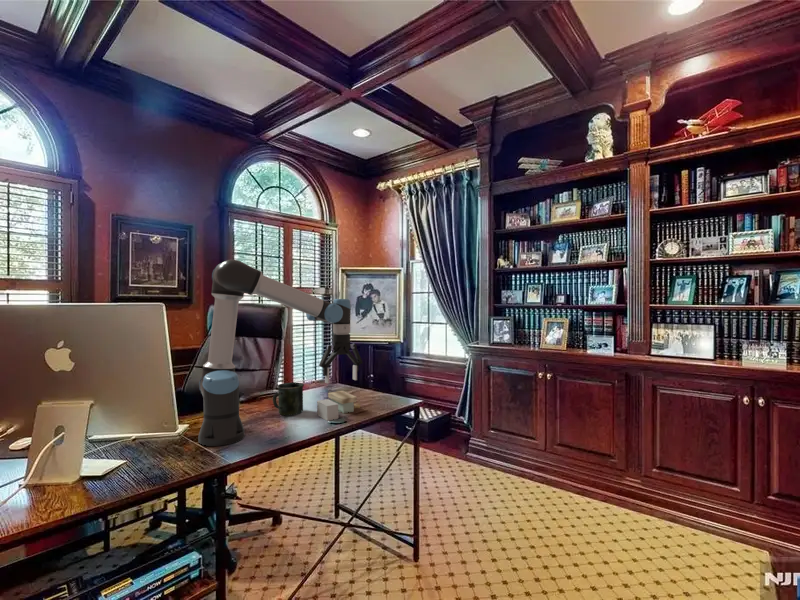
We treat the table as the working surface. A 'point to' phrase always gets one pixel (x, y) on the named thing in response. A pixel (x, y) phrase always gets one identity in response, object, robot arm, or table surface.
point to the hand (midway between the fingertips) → (341, 381)
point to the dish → (345, 407)
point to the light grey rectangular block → (327, 409)
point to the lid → (342, 397)
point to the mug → (289, 398)
